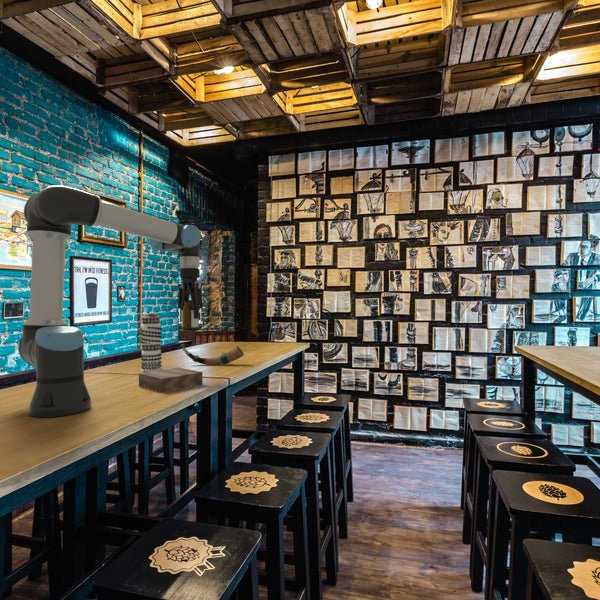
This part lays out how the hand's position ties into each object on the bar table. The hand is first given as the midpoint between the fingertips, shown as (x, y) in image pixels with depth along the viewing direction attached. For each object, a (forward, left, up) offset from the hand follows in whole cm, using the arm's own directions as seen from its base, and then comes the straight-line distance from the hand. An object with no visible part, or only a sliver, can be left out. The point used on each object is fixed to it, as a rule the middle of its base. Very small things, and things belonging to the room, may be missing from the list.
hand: (189, 326), depth 163 cm
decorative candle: (-1, +29, -20) cm, 36 cm away
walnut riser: (-13, -7, -21) cm, 25 cm away
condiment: (0, -1, -2) cm, 2 cm away
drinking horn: (+24, +19, -20) cm, 37 cm away
